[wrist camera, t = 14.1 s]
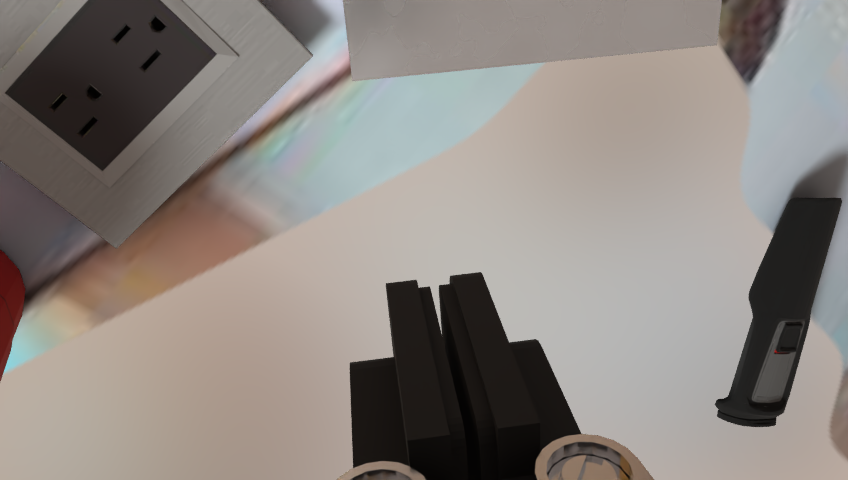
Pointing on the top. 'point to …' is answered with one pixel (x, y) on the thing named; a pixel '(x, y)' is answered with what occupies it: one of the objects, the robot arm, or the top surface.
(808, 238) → the electric trimmer
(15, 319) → the plastic cup
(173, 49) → the electrical outlet
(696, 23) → the socket plate
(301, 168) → the top surface
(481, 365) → the robot arm
